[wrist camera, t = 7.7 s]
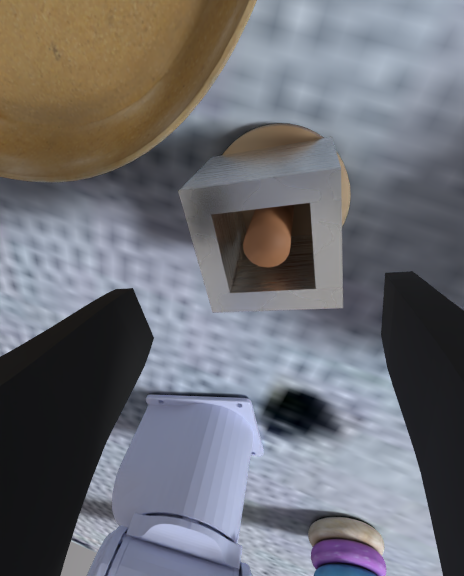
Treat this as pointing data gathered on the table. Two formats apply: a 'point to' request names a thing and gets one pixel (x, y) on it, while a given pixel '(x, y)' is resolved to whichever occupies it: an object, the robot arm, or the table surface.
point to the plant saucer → (104, 78)
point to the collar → (264, 194)
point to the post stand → (283, 219)
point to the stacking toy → (346, 548)
